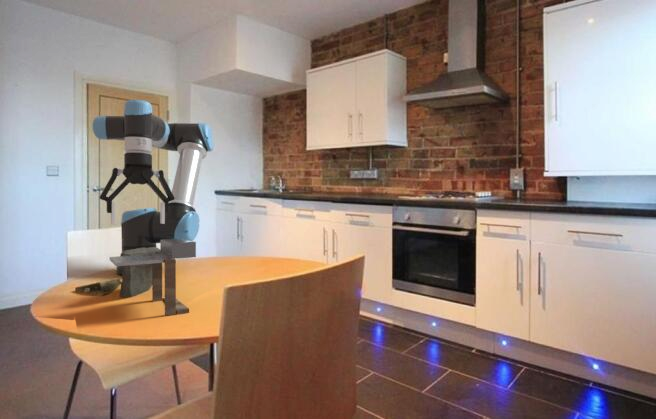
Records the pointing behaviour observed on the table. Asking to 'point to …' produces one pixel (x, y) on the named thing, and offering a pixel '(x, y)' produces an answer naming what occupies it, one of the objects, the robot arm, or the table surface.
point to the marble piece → (137, 274)
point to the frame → (167, 287)
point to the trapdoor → (160, 253)
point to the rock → (99, 287)
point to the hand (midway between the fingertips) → (138, 224)
